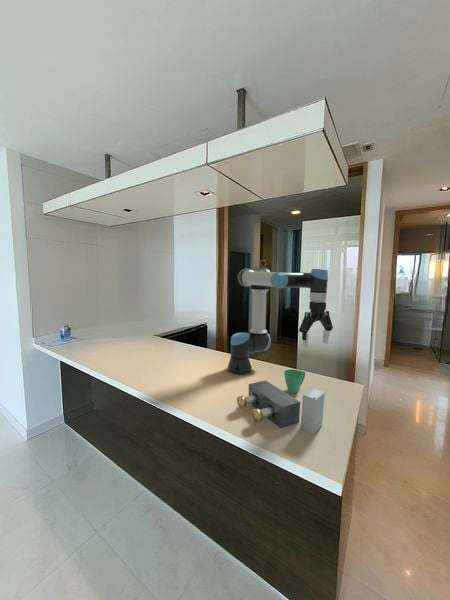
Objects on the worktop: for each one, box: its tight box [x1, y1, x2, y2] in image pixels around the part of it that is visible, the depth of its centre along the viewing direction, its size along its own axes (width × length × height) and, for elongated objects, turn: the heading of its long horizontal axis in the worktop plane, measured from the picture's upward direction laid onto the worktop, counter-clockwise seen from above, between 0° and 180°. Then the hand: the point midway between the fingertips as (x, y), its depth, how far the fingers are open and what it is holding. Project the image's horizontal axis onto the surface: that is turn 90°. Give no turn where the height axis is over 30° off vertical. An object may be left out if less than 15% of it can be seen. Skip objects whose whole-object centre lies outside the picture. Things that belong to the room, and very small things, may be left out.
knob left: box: [236, 394, 259, 409], centre depth 120 cm, size 5×12×5 cm, turn 118°
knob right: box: [251, 406, 275, 423], centre depth 109 cm, size 5×12×5 cm, turn 118°
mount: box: [248, 380, 301, 429], centre depth 118 cm, size 24×10×9 cm, turn 28°
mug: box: [283, 368, 306, 394], centre depth 140 cm, size 15×10×10 cm
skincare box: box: [300, 387, 325, 435], centre depth 105 cm, size 8×6×15 cm
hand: (315, 344), depth 126 cm, fingers open, 13 cm apart
